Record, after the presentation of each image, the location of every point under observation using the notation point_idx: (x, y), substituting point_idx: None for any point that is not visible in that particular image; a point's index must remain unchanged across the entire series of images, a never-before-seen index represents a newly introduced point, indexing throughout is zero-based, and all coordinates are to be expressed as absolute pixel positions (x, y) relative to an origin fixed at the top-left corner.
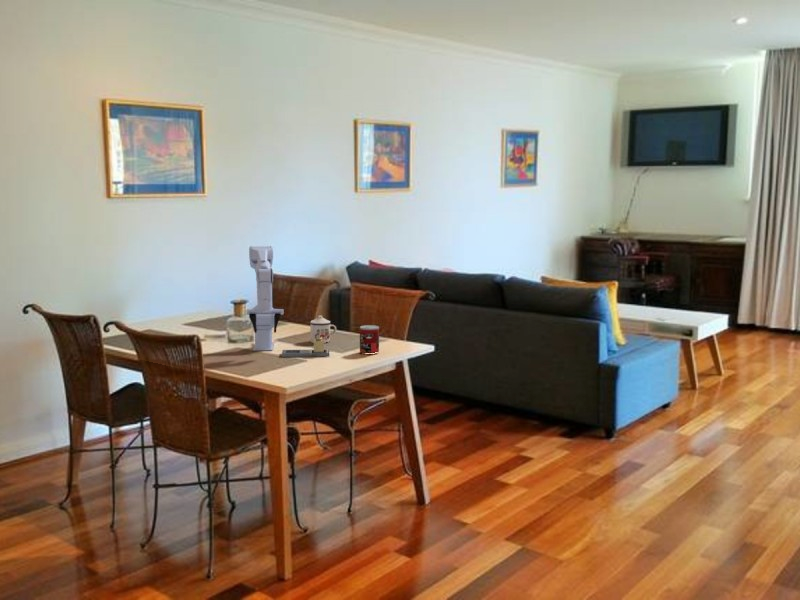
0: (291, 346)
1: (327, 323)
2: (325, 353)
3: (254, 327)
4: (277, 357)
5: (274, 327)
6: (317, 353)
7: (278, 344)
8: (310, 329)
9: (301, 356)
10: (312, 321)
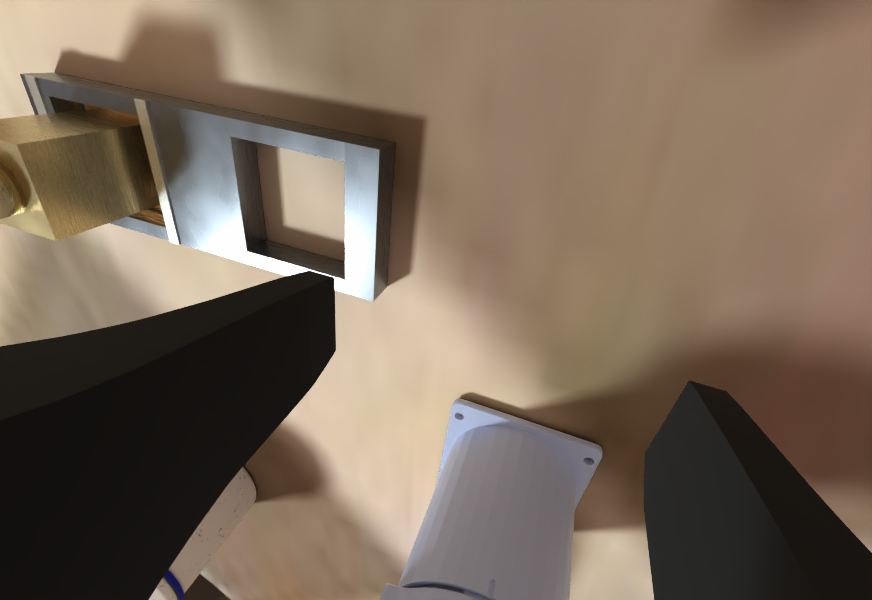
0: (338, 449)
1: None
2: (47, 77)
3: (793, 485)
4: (435, 142)
5: (252, 309)
6: (98, 88)
7: (409, 516)
8: (207, 549)
9: (233, 110)
10: None
